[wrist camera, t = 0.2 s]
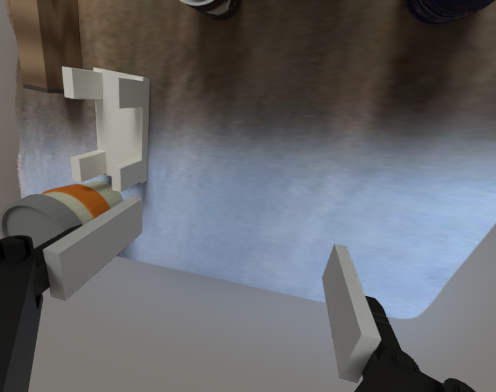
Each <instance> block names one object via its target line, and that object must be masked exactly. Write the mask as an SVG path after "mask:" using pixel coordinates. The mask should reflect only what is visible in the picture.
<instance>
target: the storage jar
mask: <svg viewBox="0 0 496 392" xmlns="http://www.w3.org/2000/svg"><path fill="white" fill-rule="evenodd" d="M494 1H495V0H405V4H406V7H407V9H408V11H409V13H410V14H411V15H412V17H413V18H414V19H416V20H417V21H418V22H420V23H423V24H426V25H430V26H438V25H444V24H448V23H450V22H453V21H455V20H457V19H460V18H463V17H465V16H468V15H470V14H472V13H475V12H477V11H479V10H481V9H483V8H485V7H486V6H488V5H490V4H491V3H492V2H494Z"/></svg>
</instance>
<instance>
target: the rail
mask: <svg viewBox="0 0 496 392" xmlns="http://www.w3.org/2000/svg"><path fill="white" fill-rule="evenodd" d="M10 2H11V8H12V15H13V21H14V27H15V34H16V40H17V47H18V53H19V60H20V66H21V73H22V79H23V86H24V88H28V89H32V90H37V91H42V92H46V93H64V84H63V74H62V66H63V67H70V68H76V69H82V61H81V47H80V32H79V18H78V3H77V0H10Z"/></svg>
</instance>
